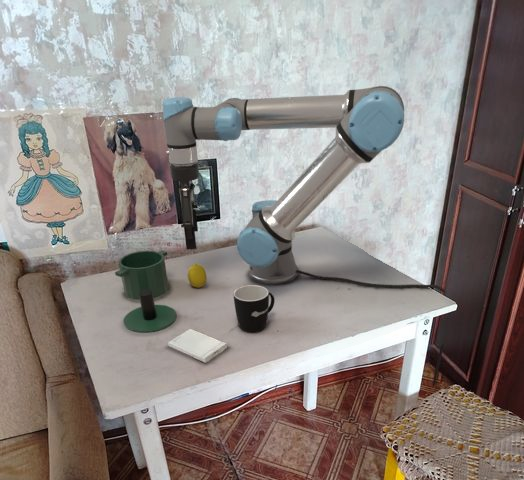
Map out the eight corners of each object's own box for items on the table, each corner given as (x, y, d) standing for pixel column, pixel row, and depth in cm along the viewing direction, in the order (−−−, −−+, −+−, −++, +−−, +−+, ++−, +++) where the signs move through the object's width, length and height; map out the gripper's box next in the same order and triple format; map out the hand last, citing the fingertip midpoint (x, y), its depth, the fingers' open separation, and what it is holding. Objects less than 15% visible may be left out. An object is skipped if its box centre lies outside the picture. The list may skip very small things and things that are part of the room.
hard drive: (167, 342, 124) (204, 358, 118) (190, 328, 129) (226, 342, 123) (168, 347, 125) (205, 363, 118) (191, 333, 130) (227, 347, 124)
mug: (250, 339, 127) (248, 304, 121) (229, 326, 132) (226, 292, 127) (285, 323, 133) (284, 289, 127) (263, 311, 139) (262, 278, 133)
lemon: (189, 284, 154) (186, 260, 150) (207, 283, 154) (205, 259, 150) (189, 292, 149) (186, 268, 145) (207, 291, 150) (205, 267, 145)
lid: (187, 316, 137) (183, 288, 133) (149, 340, 128) (144, 310, 123) (151, 303, 145) (146, 276, 140) (113, 325, 135) (106, 296, 130)
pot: (183, 284, 154) (179, 253, 148) (139, 309, 142) (132, 276, 136) (154, 275, 161) (149, 244, 155) (109, 298, 148) (102, 265, 143)
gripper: (172, 153, 142) (181, 225, 153) (165, 176, 121) (176, 257, 133) (199, 151, 142) (206, 224, 154) (196, 174, 121) (204, 256, 133)
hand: (192, 239), depth 143 cm, fingers open, 13 cm apart
